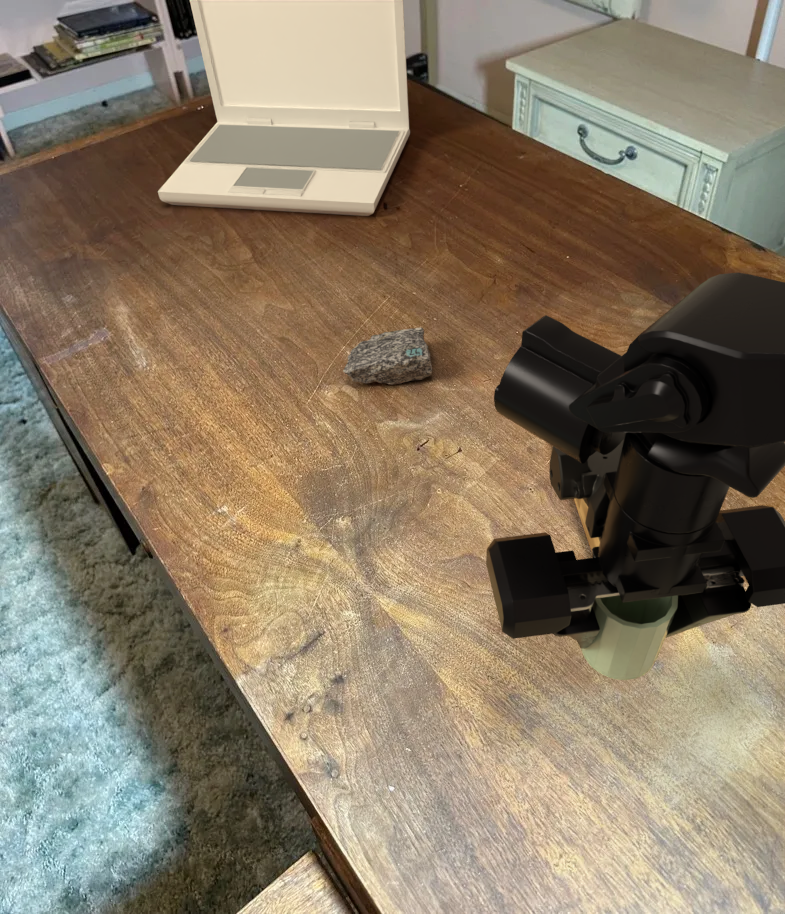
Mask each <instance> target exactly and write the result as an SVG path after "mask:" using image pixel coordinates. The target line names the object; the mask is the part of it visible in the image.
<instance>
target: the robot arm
mask: <svg viewBox="0 0 785 914" xmlns="http://www.w3.org/2000/svg"><path fill="white" fill-rule="evenodd" d="M493 401H494V402H493V404H494V408H495V410H496V412H497V413H498V414H499V415H501V416H503V417H504V418H506V419H508V420H509V421H511V422H512V423H513V424H515V425H517V426H519V427H520V428H522V429H524V430H526V432H529V433H531V434H532V435H534V436H536V437H537V438H539V439H541V440H542V441H544V442H545V443H548V444H549V445H550V446H552V449H551V454H550V459H549V481H550V485H551V487H552V489H553V491H554V492H555V494H556V496H557V498H558V499H559V500H560V501H566V500H567V501H568V500H574V499H576V498H577V499H583V500H584V501H585V503H586V505H587V506H588V511H587V516H586V521H585V524H586V527H587V530H588V533H589V535H590V538H596V537H598V538H599V541H600V544H599V547H594V548H593V549H592V551H591V550H590V551H591V557H588V558H580V559H578V558H577V557H576V554H575V551H574V550H565V551H564V550H563V551H556V549H555V545H554V541H553V540H552V536H551V534H550V533H547V532H538V533H530V534H521V535H514V536H505V537H497V538H493V539H492V541H491V542H490V543H489V545H488V547H487V548H486V555H485V556H486V557H485V558H486V559H485V561H486V562H485V565H486V569H487V573H488V577H489V582H490V586H491V591H492V594H493V598H494V603H495V607H496V611H497V616H498V620H499V625H500V628H501V633H503V634H505V635H507V637H510V638H511V639H513V640H515V639H522V638H528V637H529V638H531V637H539V636H546V635H554V636H555V637H558V638H559V637H560V638H561V637H569V638H571V639H573V640H574V641H576V642H577V644H578V646H579V648H580V650H581V649H585V648H587V647H588V646H590V645H591V643H592V642H593V640H594V639H595V637H596V636H597V634H598V632H599V631H600V627H599V625H598V622H597V619H596V616H595V613H594V610H593V607H592V606H593V604H594V600H595V599H597V598H603V597H611V596H619V595H620V598H621V600H622V603H624V602H631V601H639V600H647V599H655V598H662V597H670V596H678V607H677V610H676V613H675V615H674V618H673V620H672V623H671V625H670V628H669V630H668V633H667V635H666V638H665V639H667V638H670V637H672V636H675V635H678V634H680V633H683V632H686V631H689V630H692V629H694V628H695V629H696V628H698V627H701V626H703V625H707V624H710V623H713V622H716V621H719V620H722V619H725V618H729V617H731V616H734V615H739V614H745V613H747V612H748V611H749V610H750V609H751V608H752V605H753V606H755V607H756V608H762V607H763V608H764V607H769V606H770V607H771V606H777V605H785V519H784V517H783V516H782V514H781V513H780V512H779V511H778V510H777V509H776V508H775V507H774V506H770V505H764V504H761V505H754V506H746V507H745V506H744V507H738V508H737V507H735V508H730V509H722V507H723V504H724V502H725V499H726V497H727V494H728V492H729V490H730V488H731V489H732V490H735V491H737V492H738V493H741V494H743V495H744V496H746V497H748V498H750V499H754V498H757V497H758V496H759V495H761V493H762V492H763V491H764V490H765V489H766V488H767V487H768V486H769V485H770V484H771V482H772V481H773V480H774V479H775V478H776V477H777V476H778V475H779V473H780V472H781V471H782V470H783V469H784V468H785V281H780V280H777V279H771V278H767V277H763V276H759V275H754V274H749V273H743V272H730V273H729V272H727V273H719V274H717V275H714V276H711V277H709V278H708V279H707V280H705V281H703V282H702V283H700V284H699V285H698V286H696V287H695V288H694V289H693V290H692V291H690V293H688V294H687V295H686V296H685V297H683V298H682V299H681V300H679V301H678V302H677V303H676V304H675V305H674V306H672V307H671V308H670V309H669V310H667V311H666V312H665V313H664V314H663V315H661V316H660V317H659V318H658V319H656V320H655V321H654V322H653V323H652V324H650V325H649V326H648V327H647V328H646V329H645V330H643V331H642V332H641V333H639V334H638V336H636V338H635V339H634V340H632V342H631V343H630V344H629V345H628V348H627V350H626V352H624V353H623V354H622V355H621V354H619V353H617V352H615V351H613V350H611V349H609V348H607V347H605V346H604V345H601V344H599V343H597V342H595V341H594V340H591V339H589V338H587V337H584V336H583V335H581V334H579V333H577V332H575V331H573V330H572V329H571V328H569V327H568V326H567V325H566V324H564V323H563V322H561V321H559V320H557V319H555V318H553V317H551V316H549V315H548V314H547V315H544V316H542V317H540V318H539V319H537V320H536V321H535V322H534V323H532V324H530V325H529V326H528V327H527V328H525V329H524V330H523V331H522V333H521V344H520V346H519V348H518V349H517V350H516V352H515V353H514V354H513V356H512V357H511V359H510V360H509V362H508V364H507V366H506V367H505V369H504V371H503V374H502V375H501V379H500V381H499V384H498V385H497V386H496V387H495V389H494V393H493ZM743 577H744V578H745V579H744V578H743ZM745 581H746V582H747V585H748V586H747V588H746V590H745V587H744V583H745Z"/></svg>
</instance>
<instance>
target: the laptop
mask: <svg viewBox="0 0 785 914" xmlns="http://www.w3.org/2000/svg"><path fill="white" fill-rule="evenodd" d="M189 3H190V8H191V12H192V17H193V21H194V25H195V30H196V35H197V39H198V42H199V48H200V51H201V56H202V61H203V65H204V70H205V74H206V78H207V82H208V83H207V84H208V87H209V91H210V96H211V100H212V104H213V109H214V113H215V117H216V122H215V124H214V125H213V127H212V128H210V130H209V131H208V132H207V133H206V135H204V136H203V138H202V140H200V141H199V143H198V144H197V145H196V146H195V147H194V148H193V150H192V151H191V152H190V153H189V154H188V155H187V157H186V158H185V159H184V160H183V161H182V162H181V164H180V165H179V166H178V167H177V168H176V169H175V171H174V172H173V173H172V174H171V176H169V178H168V179H167V180H166V181H165V182H164V184H163V185H161V187H160V188H159V189H158V191H157V193H158V198H159V200H160V201H161V202H162V203H166V204H169V205H172V206H185V207H186V206H187V207H201V208H202V207H203V208H221V209H222V208H223V209H239V210H257V211H275V212H288V213H289V212H290V213H291V212H292V213H307V214H326V215H327V214H328V215H342V216H343V215H344V216H360V217H361V216H362V217H369V216H371V215H373V214H374V213H375V210H376V209H377V206H378V204H379V202H380V199H381V197H382V196H383V193H384V191H385V190H386V187H387V184H388V182H389V180H390V178H391V176H392V174H393V172H394V169H395V167H396V165H397V163H398V161H399V159H400V157H401V154H402V152H403V150H404V148H405V146H406V143H407V141H408V139H409V137H410V135H411V129H410V117H409V116H410V114H409V96H408V93H409V92H408V74H407V73H408V72H407V53H406V52H407V51H406V33H405V31H406V30H405V11H404V10H405V9H404V0H189Z"/></svg>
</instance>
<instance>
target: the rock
mask: <svg viewBox="0 0 785 914" xmlns="http://www.w3.org/2000/svg"><path fill="white" fill-rule="evenodd" d="M424 329H425V328H423V327H416V328H415V327H414V328H413V327H412V328H405V329H399V330H398V329H397V330H393V331H384V332H383V333H380V334H379V333H378V334H373V335H370V338H369V339H368V340H362V341H360V342H359V343H358V344H357V345H356V346H355V347H354V348H352V349H351V350H350V353H349V354H348V356H347V363H346V364H345V366H344V368H343V370H342V372H343V373H344V374H345V375H347V376H348V377H349V378H350V379H351V381H352V382H354V383H363V384H371V383H375V382H376V383H379V384H388V385H399V384H402V383H403V384H404V383H408V382H410V381H422V380H424V379H426V378H428V377H430V376H432V375H433V366H432V360H431V352H430V350H429V346H428V344H427V342H426V341H425V338H424V335H425V330H424Z"/></svg>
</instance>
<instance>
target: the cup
mask: <svg viewBox="0 0 785 914" xmlns="http://www.w3.org/2000/svg"><path fill="white" fill-rule="evenodd" d="M592 607H593V610H594V613H595V616H596V619H597V622H598V625H599V627H600V631H599V632H598V634H597V636H596V637H595V639H594V640H593V642H592V643H591V645H590V646H588V647H587V648H585V649H581V648H580V651H581V653H582V656H583V657H584V659H585V660H586V663H588V665H589V666H590V667H591V668H592V669H593V670H594V671H596V672H597V673H598V674H600V675H602V676H604V677H605V678H606V677H607V678H608V679H612V680H616V681H633V680H637V679H639V678H642V677H643V676H645V675H647V674H648V673H649V672H650V671H651V670H652V669H653V667H654V665H655V663H656V661H657V659H658V657H659V655H660V652H661V651H662V648H663V646H664V642H665V640H666V639H667V638H666V635H667V633H668V630H669V628H670V625H671V623H672V620H673V618H674V615H675V613H676V610H677V607H678V596H670V597H662V598H655V599H647V600H639V601H631V602H624V603H622V600H621V598H620V595H619V596H611V597H603V598H597V599H595V600H594V604H593V606H592Z"/></svg>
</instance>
